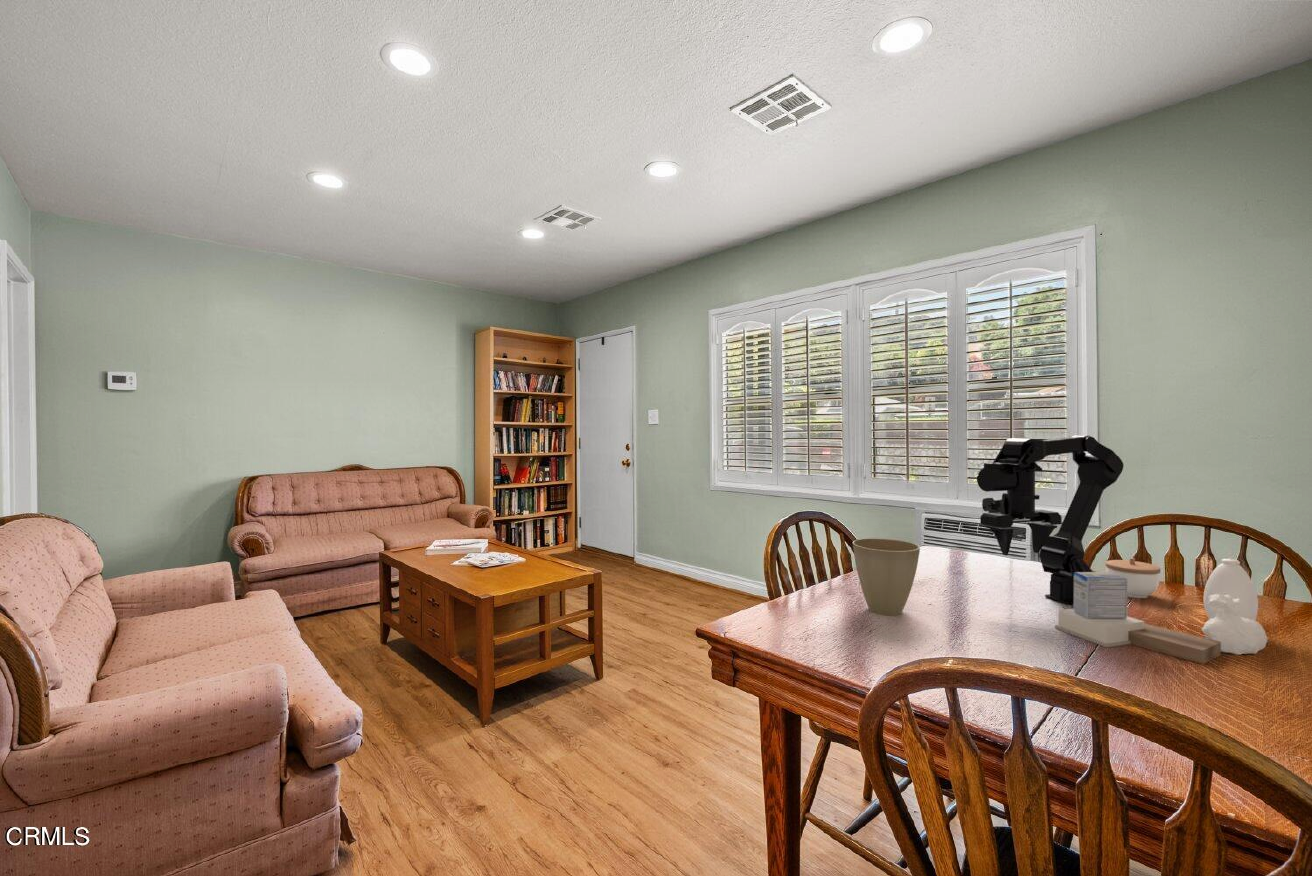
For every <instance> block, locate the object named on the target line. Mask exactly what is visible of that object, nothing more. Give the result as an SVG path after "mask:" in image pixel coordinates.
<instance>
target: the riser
mask: <svg viewBox="0 0 1312 876" xmlns="http://www.w3.org/2000/svg"><path fill="white" fill-rule="evenodd" d="M1057 611H1058V617H1057V619H1058V623H1057V624H1055V625H1054V628H1055V629H1057V630H1059V631H1062V632H1065V633H1068V634H1069V635H1073V636H1076V637H1077V638H1080V639H1083V640H1086V641H1089V642H1091V643H1093V644H1096V645H1100V647H1101V646H1102V647H1105V648H1109V647H1110V648H1112V647H1118V646H1125V645H1126V646H1127V645H1132V644H1131V641H1129V640H1128V631H1132V630H1140V629H1144V623H1145V621H1144V620H1141V619H1139V618H1138V619H1137V618H1134V617H1131V616H1128V615H1127V618H1126V619H1125V618H1085V617H1083V616H1081V615H1079V614H1078V613H1076V612H1075V611H1074V608H1069V609H1068V608H1066V609H1058V610H1057Z"/></svg>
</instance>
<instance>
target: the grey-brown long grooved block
mask: <svg viewBox="0 0 1312 876" xmlns="http://www.w3.org/2000/svg"><path fill="white" fill-rule="evenodd" d="M1128 640H1129V641H1131V644H1130V645H1133V646H1137V647H1140V648H1144V649H1148V650H1151V651H1154V652H1159V653H1162V654H1166V655H1170V656H1173V657H1176V658H1180V659H1184V660H1187V661H1191V662H1194V663H1199V664H1202V665H1204V664H1206V663H1208V662H1210V661H1212V660H1213V659H1216V658H1217V657H1219V656H1221V653H1222V652H1221V642H1219V641H1215V640H1211V639H1206V637H1202V636H1198V635H1194V634H1193V635H1192V634H1189V633H1185V632H1182V631H1177V630H1173V629H1169V628H1166V627H1165V628H1164V627H1161V626H1156V625H1152V624H1150V623H1145V622H1144V629H1140V630H1132V631H1128Z"/></svg>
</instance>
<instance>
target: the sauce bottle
mask: <svg viewBox="0 0 1312 876" xmlns="http://www.w3.org/2000/svg"><path fill="white" fill-rule="evenodd" d="M1232 549H1233V548H1232V547H1229V553H1228V558H1222V559H1221V563H1220V564H1218V565H1217V566H1216V567H1215V568H1214V569H1213V570H1212V572H1211V574H1210V575H1209V577H1208V579H1207V581H1206V583H1205V586H1204V591H1203V598H1202V599H1203V600H1202V601H1203V607H1204V611H1205V613H1206V616H1207V618H1208V620H1210V619H1213V618H1215V617H1216V615H1217V612H1216V610H1213V611H1212V610H1211V608H1210V606H1209V604H1208V597H1209V596H1211V595H1213V594H1219V595H1223V596H1225V595H1230V597H1231V598H1233V599H1240V603H1241V604H1242V605H1244V608H1245V609H1244V610H1243V611H1241V613H1240V614H1239V616H1240V617H1243V618H1247V619H1251V620H1253V621H1256V619H1257V617H1258V610H1259V601H1258V600H1259V599H1258V595H1257V592H1256V587H1255V584H1254V583H1253V581H1252V579H1251V578H1250V575H1249V573H1247V571H1246V570H1245V569H1244V568H1243V566H1241V565H1240V564H1241V562H1240V561H1239V560H1238V559H1233V550H1232Z"/></svg>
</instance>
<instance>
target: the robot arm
mask: <svg viewBox="0 0 1312 876" xmlns="http://www.w3.org/2000/svg"><path fill="white" fill-rule="evenodd" d="M1086 452H1087V453H1086ZM1064 454H1072V461H1073V462H1074V463H1075V464H1076V465H1077V466H1078V467H1077V471H1076V472H1077V476H1078V479H1079V484H1078V486H1077V489H1076V491H1075V493H1074V496H1073V498H1072V500H1071V503H1070V505H1069V507H1068V509H1067V511H1066V514H1065V516H1064V519H1063V520H1062V517H1063V516H1062V515H1061V514H1060V513H1059V512H1057V511H1053V510H1052V511H1050V510H1046V509H1036V500H1040V494H1036V472H1043V470H1044V469H1043V467H1041V466H1040V465H1038V463H1037V462H1040V461H1042V460H1044V459H1045V458H1046V457H1049V456H1056V455H1064ZM1123 469H1124V462H1123V460H1122V458H1121V457H1120V456H1119V455H1117V454H1116V453H1115V452H1114V450H1112V449H1111V448H1108V446H1105V445H1103V444H1102V443H1100V442H1099V441H1098V440H1097V439H1096V438H1095V437H1094V436H1091V435H1072V436H1068V437H1067V436H1066V437H1057V438H1050V439H1049V438H1048V439H1035V438H1007V439H1006V440H1005V441H1004V443H1003V445H1002V446H1001V448H1000V450H999V452H998V454H997V455H996V456H995V459H994V460H993V461H992V462H985V463H983V468H982V469H980V470H979V471H978V474H977V476H976V483H977V485H978V488H980V490H981V491H984V492H986V493H987V492H1004V493H1002V495H1001V499H997V500H995V499H994V498H993V497H986V498H982V502H981V507H982V509H983V510H982V511H984V512H983V513H982V514H981V515H980V523H979V524H980V525H983V526H984V527H985V528H986V529H990V531H991V532H992V533H993V535H994V536H995V538H996V540H997V543H998V547H999V548H1000V551H1001V553H1002V555H1003V556H1008V555H1009V553H1010V549H1011V544H1012V539H1013V535H1014V530H1015V529H1014V527H1013V528H1011V527H1012V526H1014V523H1015V524H1016V523H1017V524H1019V523H1027V524H1028V527H1030V530H1031V538H1032V541H1031V543H1032V549H1033V550H1032V551H1033V553H1035V554H1039V555H1038V557H1039V559H1040V560H1039V561H1040V563H1041V566H1042V570H1043V572H1044V573H1048V574H1050V581H1049V593H1048V594H1044V597H1046V598H1048V599H1051V600H1055V601H1057V602H1060V603H1063V604H1065V605H1074V573H1075V572H1093V571H1092V570H1093V569H1091V568H1090V566H1089V565H1088V564H1087V563H1086V561H1084V557H1085V549H1084V544H1083V542H1082V541H1083V540H1084V539H1083V538H1084V536H1085V535H1086V531H1087V529H1088V527H1089V525H1090V522H1091V521H1092V517H1093V515H1094V513H1095V511H1096V509H1097V507H1098V504H1099V502H1100V500H1101V496H1102V495H1103V494H1104V493H1103V492H1104V491H1105V489H1107V488H1109V487H1110V486H1111V485H1113V484H1114V483H1116V481H1118V479H1119V477H1120V475H1121V474H1122V472H1123ZM1058 525H1060V528H1059V529H1058V532H1057V533H1055V534H1054V535H1051V534H1052V533H1053V532H1054V530H1055V529H1057V528H1058Z"/></svg>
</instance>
